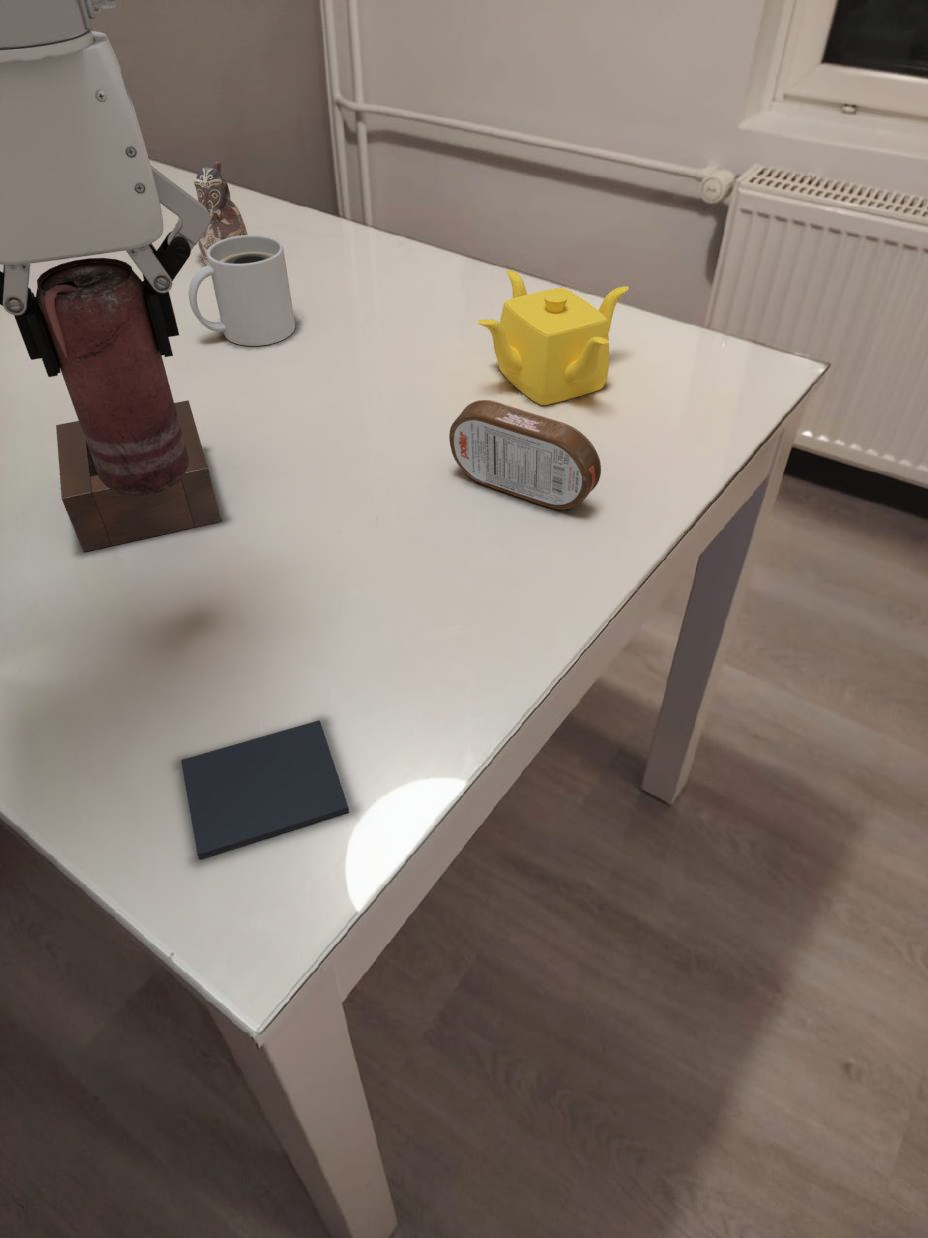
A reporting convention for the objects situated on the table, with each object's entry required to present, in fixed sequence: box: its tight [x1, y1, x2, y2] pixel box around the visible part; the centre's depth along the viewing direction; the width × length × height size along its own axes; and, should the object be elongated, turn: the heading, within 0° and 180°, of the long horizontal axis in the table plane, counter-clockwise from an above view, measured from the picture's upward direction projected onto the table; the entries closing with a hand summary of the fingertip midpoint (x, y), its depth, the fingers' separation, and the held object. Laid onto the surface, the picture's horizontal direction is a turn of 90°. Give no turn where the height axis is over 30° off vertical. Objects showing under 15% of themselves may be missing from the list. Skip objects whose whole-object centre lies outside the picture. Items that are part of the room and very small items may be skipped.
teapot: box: [476, 269, 630, 406], centre depth 96 cm, size 15×14×10 cm
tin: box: [448, 399, 602, 510], centre depth 81 cm, size 15×3×8 cm, turn 59°
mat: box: [180, 719, 350, 860], centre depth 60 cm, size 10×8×1 cm
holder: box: [55, 399, 222, 553], centre depth 81 cm, size 12×12×6 cm
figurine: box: [193, 161, 249, 266], centre depth 120 cm, size 7×7×12 cm
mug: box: [188, 234, 296, 347], centre depth 105 cm, size 11×10×10 cm
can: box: [35, 257, 189, 496], centre depth 56 cm, size 6×6×14 cm
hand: (109, 354), depth 54 cm, fingers closed on can, 6 cm apart
